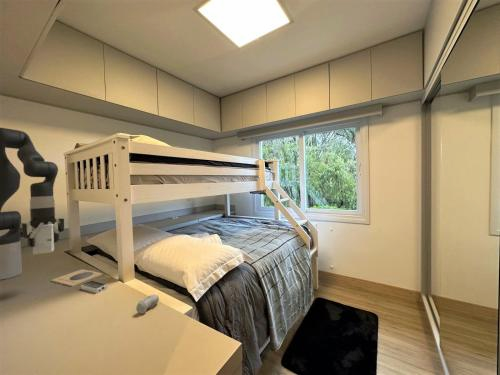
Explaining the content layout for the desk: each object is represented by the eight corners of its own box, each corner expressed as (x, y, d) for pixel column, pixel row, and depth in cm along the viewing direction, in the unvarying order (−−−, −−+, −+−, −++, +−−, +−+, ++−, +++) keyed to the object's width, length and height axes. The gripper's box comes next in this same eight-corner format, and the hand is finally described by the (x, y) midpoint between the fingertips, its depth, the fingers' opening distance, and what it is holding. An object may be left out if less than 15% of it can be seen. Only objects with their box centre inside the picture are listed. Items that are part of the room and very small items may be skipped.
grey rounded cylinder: (152, 304, 77) (162, 302, 75) (133, 316, 69) (143, 315, 68) (149, 292, 77) (159, 290, 75) (130, 304, 70) (140, 302, 68)
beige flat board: (50, 281, 97) (50, 279, 97) (82, 270, 109) (81, 269, 109) (72, 286, 91) (72, 285, 91) (102, 274, 103) (102, 273, 103)
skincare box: (32, 255, 85) (31, 226, 85) (36, 252, 89) (35, 224, 89) (52, 252, 89) (51, 224, 89) (55, 249, 93) (54, 223, 92)
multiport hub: (92, 285, 92) (91, 280, 92) (107, 289, 88) (107, 284, 88) (80, 290, 88) (80, 284, 88) (96, 294, 84) (96, 289, 84)
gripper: (58, 205, 97) (59, 239, 97) (14, 208, 84) (16, 248, 84) (67, 205, 94) (68, 240, 94) (23, 208, 81) (25, 250, 81)
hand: (44, 244), depth 89 cm, fingers closed on skincare box, 7 cm apart
